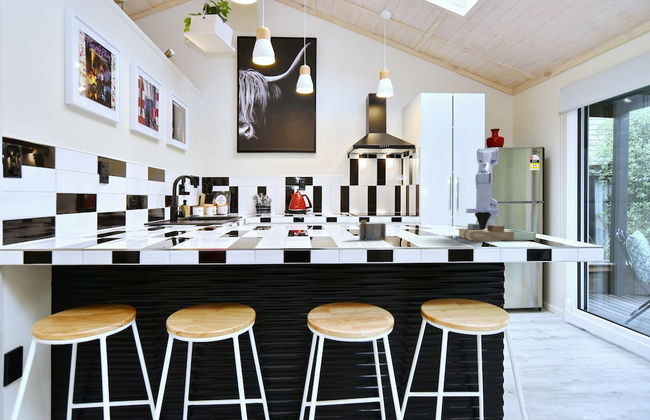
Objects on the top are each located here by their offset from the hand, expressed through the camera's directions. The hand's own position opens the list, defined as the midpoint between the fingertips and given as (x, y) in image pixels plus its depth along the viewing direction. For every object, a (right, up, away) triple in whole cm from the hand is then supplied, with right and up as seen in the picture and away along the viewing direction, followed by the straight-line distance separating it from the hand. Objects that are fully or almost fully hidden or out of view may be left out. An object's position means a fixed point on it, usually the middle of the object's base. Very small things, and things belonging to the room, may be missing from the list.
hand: (482, 229), depth 155 cm
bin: (+17, -5, +4) cm, 18 cm away
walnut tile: (+6, -1, 0) cm, 6 cm away
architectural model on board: (-50, -5, -1) cm, 50 cm away
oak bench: (+3, -5, +4) cm, 7 cm away
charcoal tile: (0, -1, +7) cm, 7 cm away
